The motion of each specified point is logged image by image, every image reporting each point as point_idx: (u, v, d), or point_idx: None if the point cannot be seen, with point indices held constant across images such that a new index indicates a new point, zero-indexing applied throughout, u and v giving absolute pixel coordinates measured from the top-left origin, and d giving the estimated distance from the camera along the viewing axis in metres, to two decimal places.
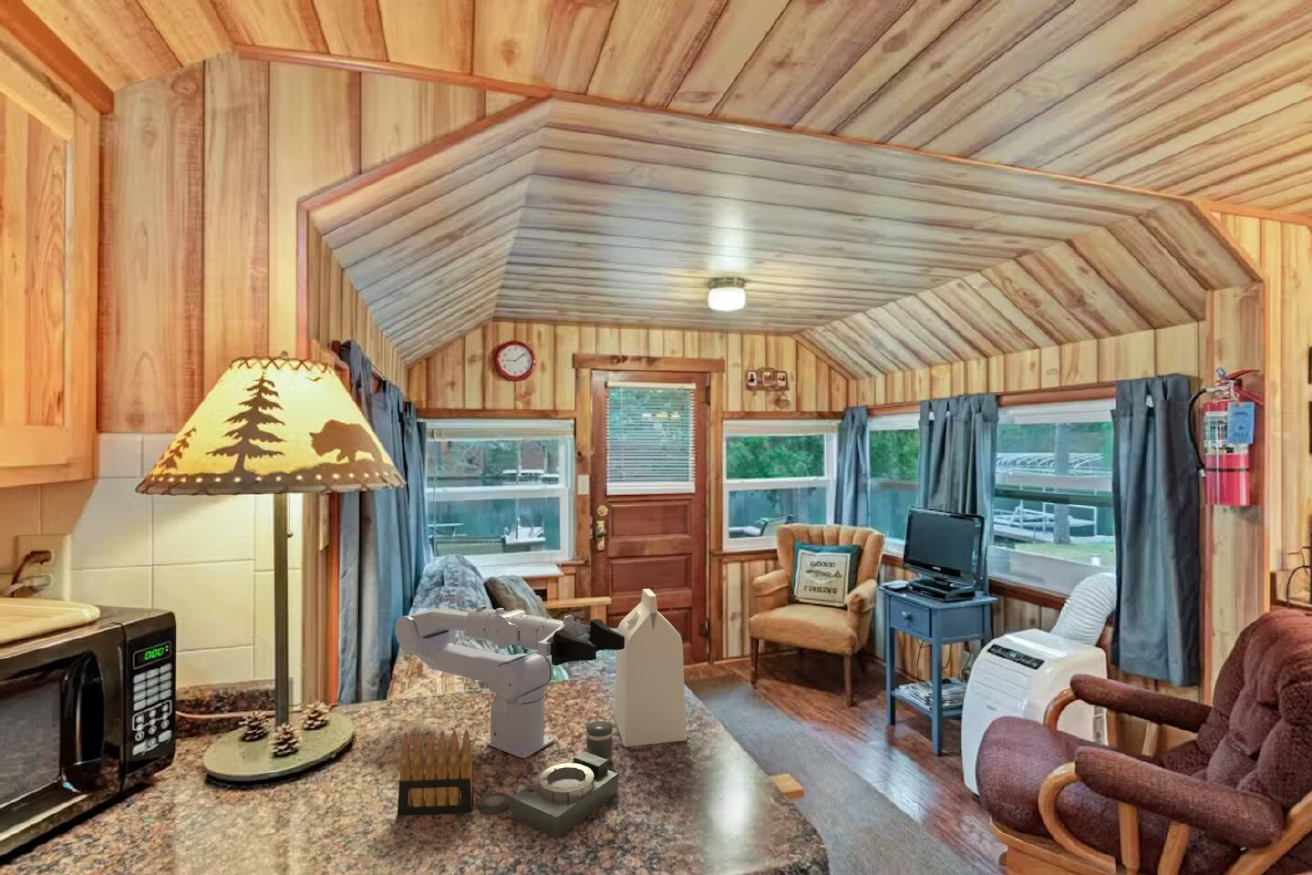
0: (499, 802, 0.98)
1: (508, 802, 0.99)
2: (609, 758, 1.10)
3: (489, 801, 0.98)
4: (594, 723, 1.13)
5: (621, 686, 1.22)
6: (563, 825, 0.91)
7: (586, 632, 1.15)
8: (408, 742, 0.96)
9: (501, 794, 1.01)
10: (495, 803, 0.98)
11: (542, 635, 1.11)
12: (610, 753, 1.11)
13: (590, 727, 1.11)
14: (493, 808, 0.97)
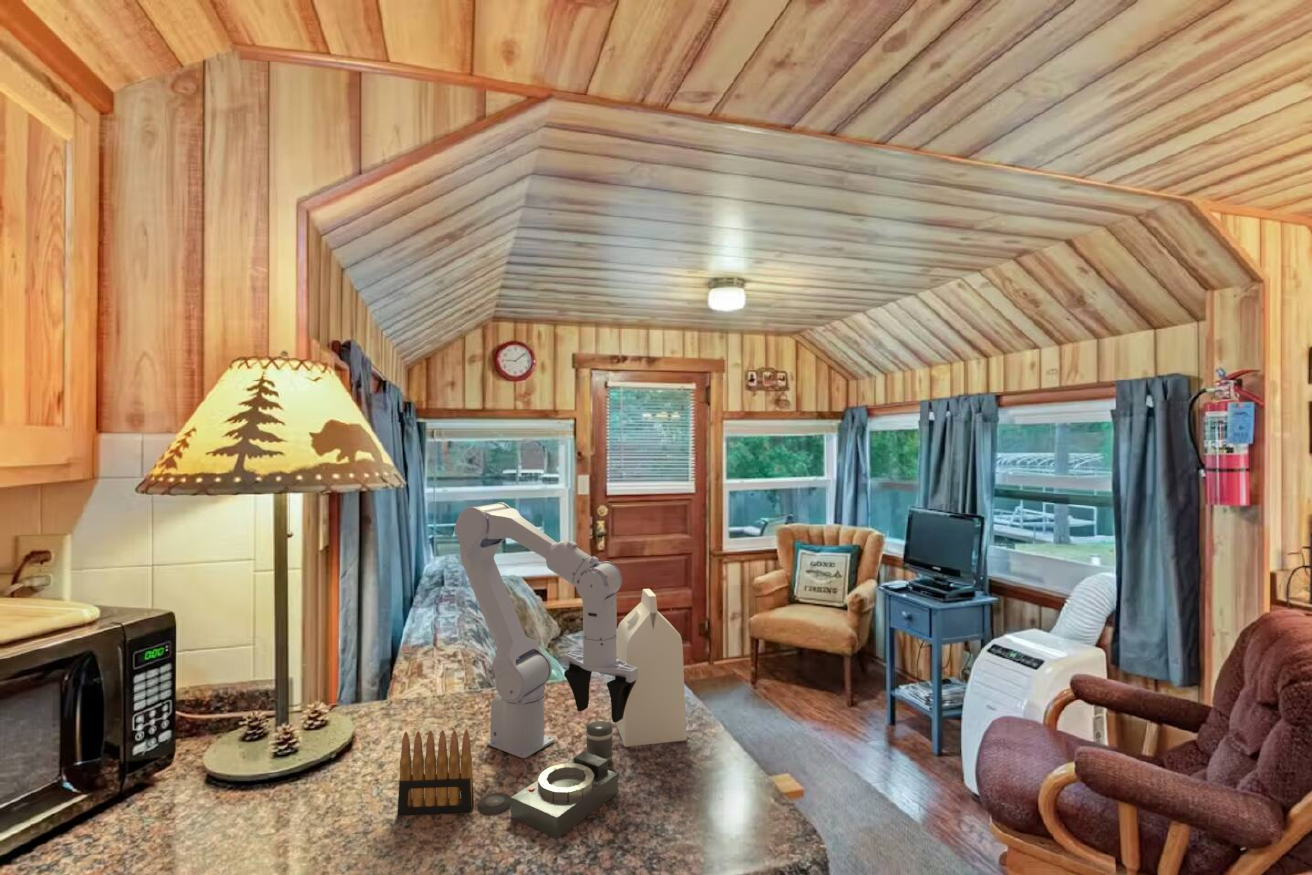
0: (499, 802, 0.98)
1: (508, 802, 0.99)
2: (609, 758, 1.10)
3: (489, 801, 0.98)
4: (594, 723, 1.13)
5: None
6: (563, 825, 0.91)
7: None
8: (408, 742, 0.96)
9: (501, 794, 1.01)
10: (495, 803, 0.98)
11: (615, 644, 1.11)
12: (610, 753, 1.11)
13: (590, 727, 1.11)
14: (493, 808, 0.97)
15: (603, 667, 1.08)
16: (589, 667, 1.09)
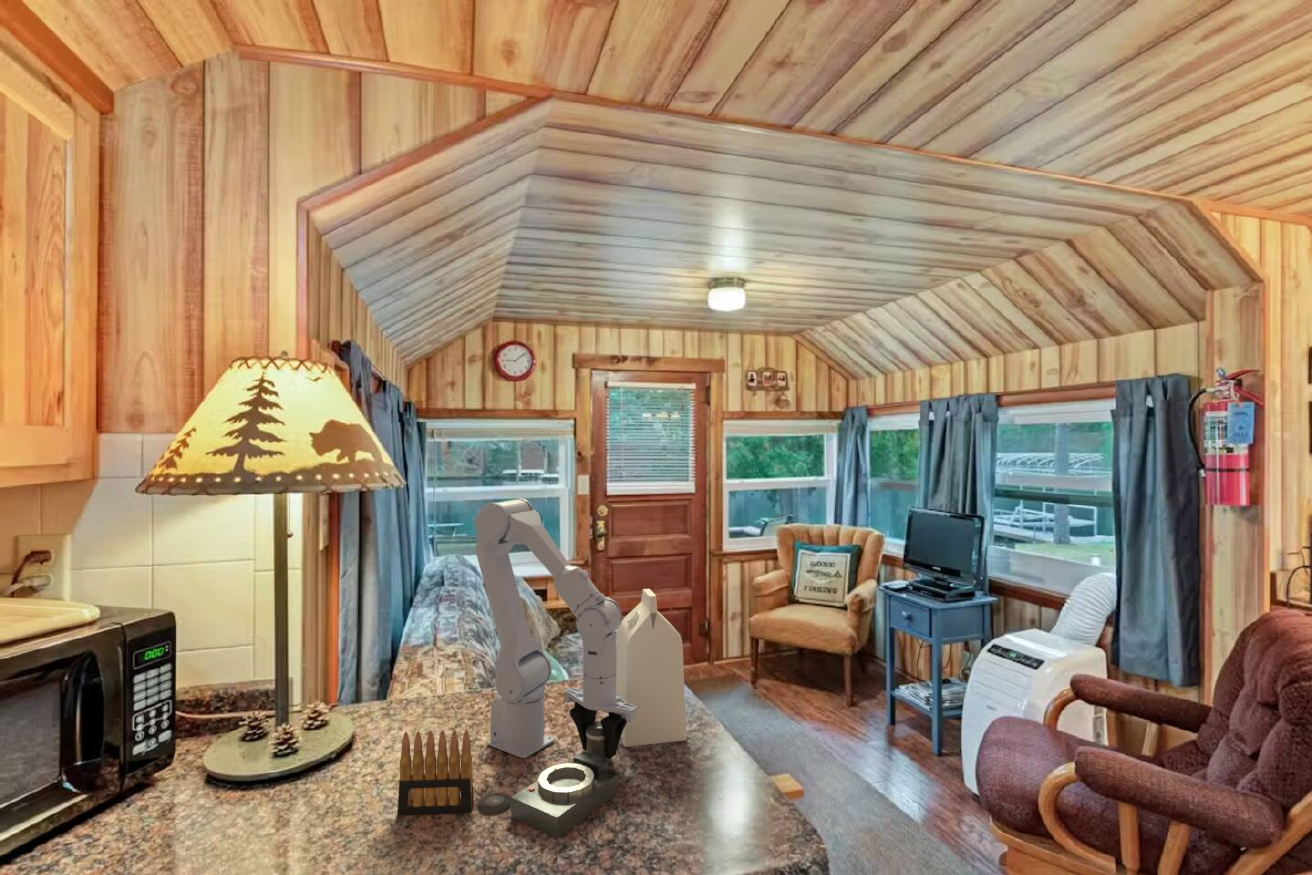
0: (499, 802, 0.98)
1: (508, 802, 0.99)
2: None
3: (489, 801, 0.98)
4: (594, 723, 1.13)
5: (621, 686, 1.22)
6: (563, 825, 0.91)
7: None
8: (408, 742, 0.96)
9: (501, 794, 1.01)
10: (495, 803, 0.98)
11: (615, 682, 1.11)
12: None
13: (590, 726, 1.11)
14: (493, 808, 0.97)
15: (603, 705, 1.09)
16: (589, 705, 1.09)
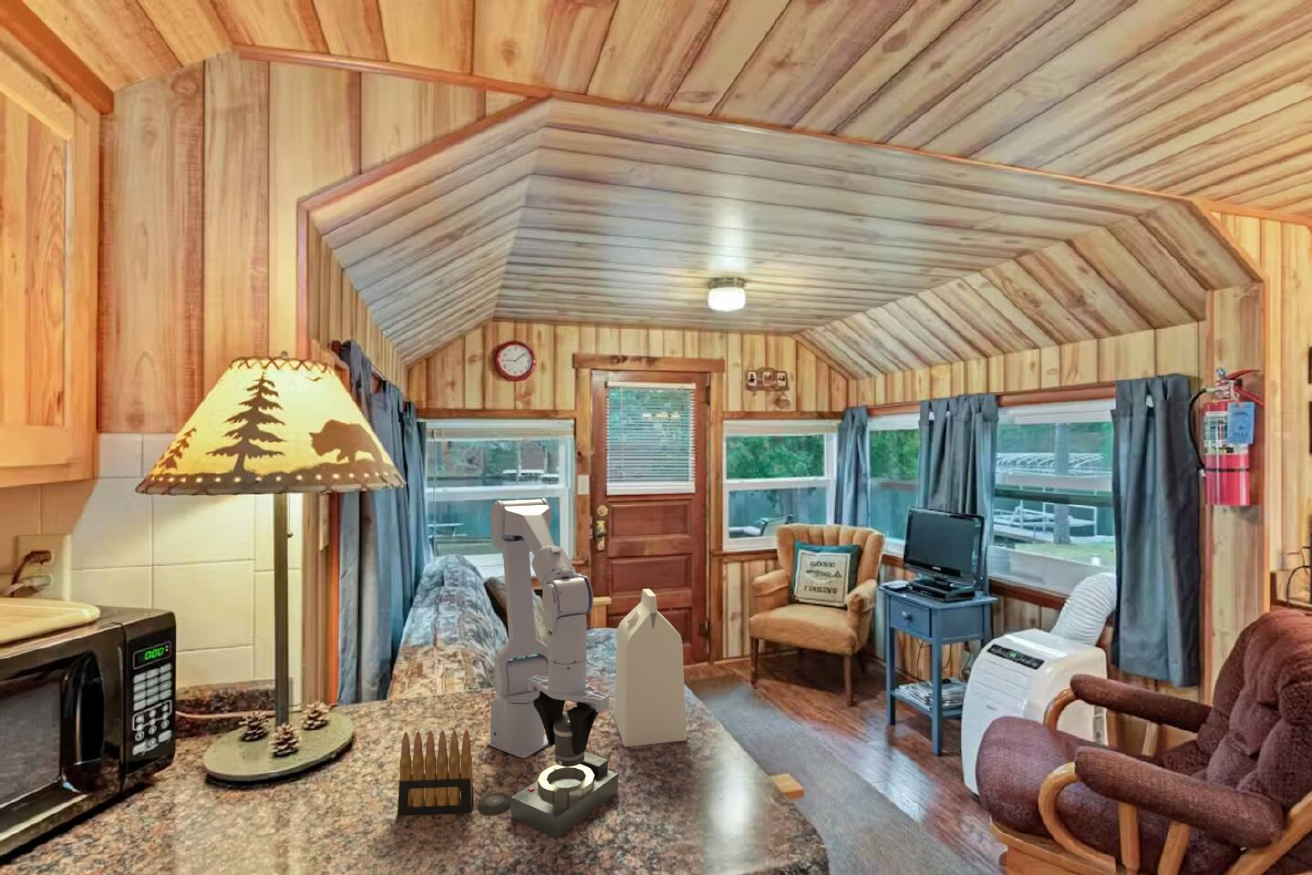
0: (499, 802, 0.98)
1: (508, 802, 0.99)
2: (581, 755, 0.98)
3: (489, 801, 0.98)
4: (562, 716, 1.00)
5: (621, 686, 1.22)
6: (563, 825, 0.91)
7: None
8: (408, 742, 0.96)
9: (501, 794, 1.01)
10: (495, 803, 0.98)
11: (584, 668, 0.98)
12: None
13: (557, 721, 0.99)
14: (493, 808, 0.97)
15: (570, 694, 0.96)
16: (554, 694, 0.96)
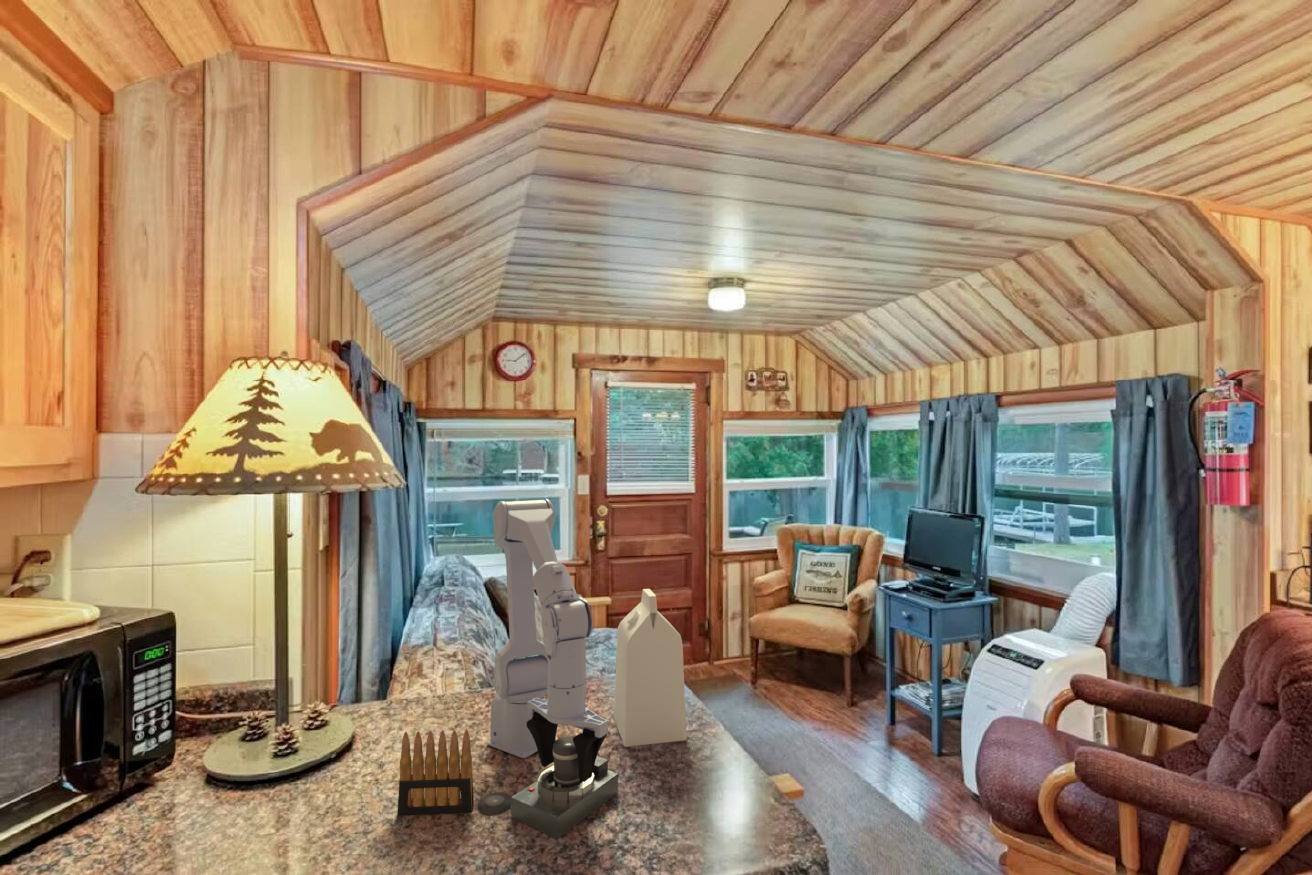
0: (499, 802, 0.98)
1: (508, 801, 0.99)
2: None
3: (489, 800, 0.98)
4: (562, 739, 1.00)
5: (621, 686, 1.22)
6: (563, 825, 0.91)
7: None
8: (408, 742, 0.96)
9: (500, 793, 1.01)
10: (495, 803, 0.98)
11: (583, 692, 0.98)
12: None
13: (557, 744, 0.99)
14: (493, 808, 0.97)
15: (569, 719, 0.95)
16: (553, 719, 0.96)
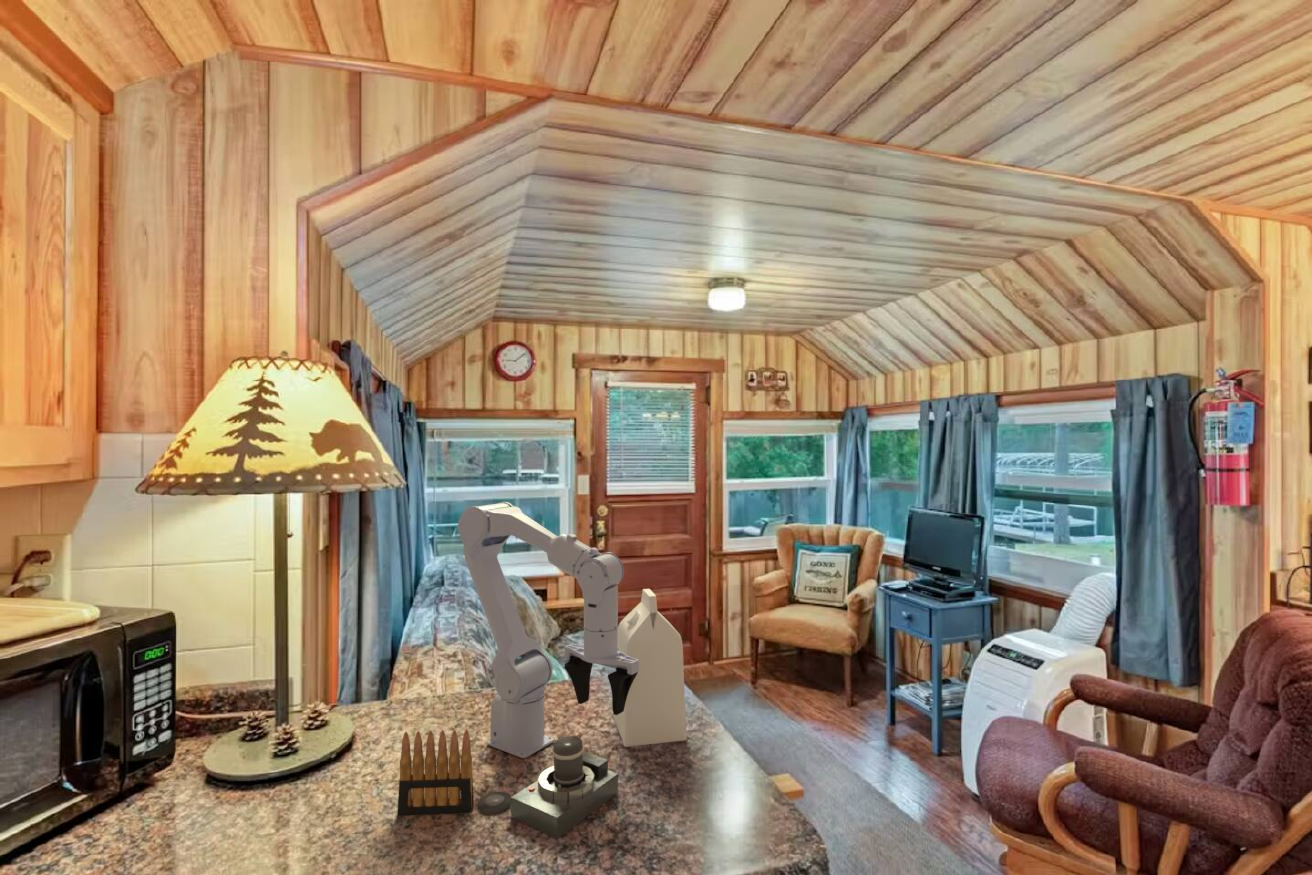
0: (500, 801, 0.98)
1: (508, 799, 0.99)
2: (580, 778, 0.98)
3: (488, 801, 0.98)
4: (562, 739, 1.00)
5: None
6: (563, 825, 0.91)
7: None
8: (408, 742, 0.96)
9: (498, 792, 1.01)
10: (496, 802, 0.98)
11: (616, 636, 1.09)
12: (581, 772, 0.98)
13: (557, 744, 0.99)
14: (495, 807, 0.97)
15: (604, 658, 1.07)
16: (590, 659, 1.08)
